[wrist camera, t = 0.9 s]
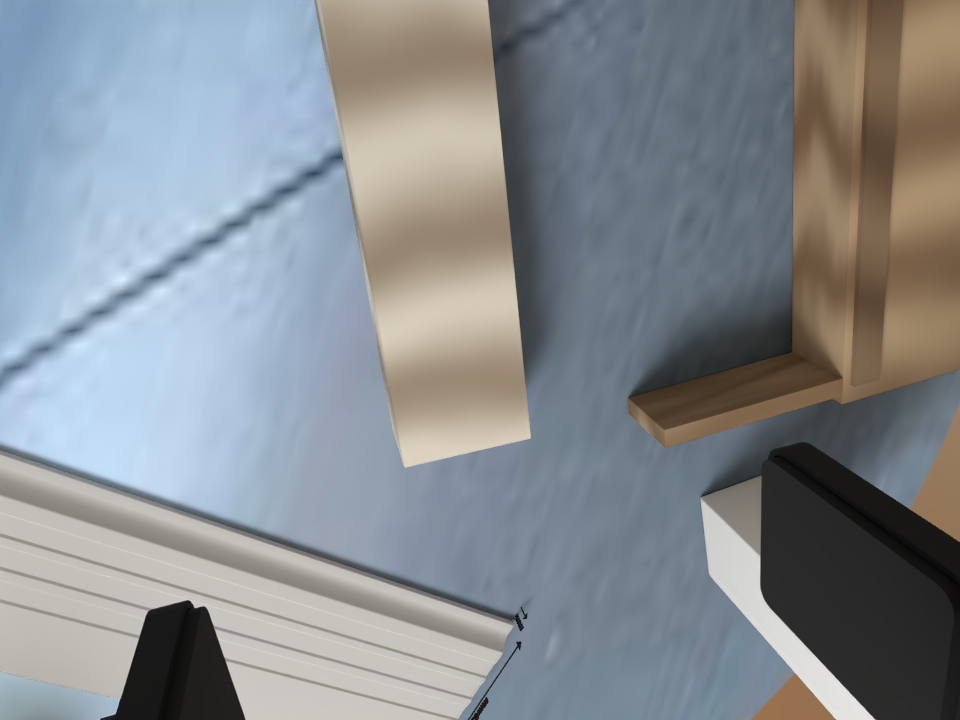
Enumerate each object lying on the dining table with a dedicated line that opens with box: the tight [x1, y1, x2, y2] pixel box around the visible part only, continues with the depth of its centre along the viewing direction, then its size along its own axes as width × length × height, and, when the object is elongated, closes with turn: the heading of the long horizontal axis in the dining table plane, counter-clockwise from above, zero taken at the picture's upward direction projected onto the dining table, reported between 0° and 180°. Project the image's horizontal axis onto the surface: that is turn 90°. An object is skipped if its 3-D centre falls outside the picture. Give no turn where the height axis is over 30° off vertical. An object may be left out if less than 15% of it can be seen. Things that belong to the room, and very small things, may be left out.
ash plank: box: [314, 0, 531, 468], centre depth 30 cm, size 20×6×4 cm, turn 7°
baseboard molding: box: [0, 450, 527, 720], centre depth 35 cm, size 31×3×12 cm
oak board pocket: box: [628, 0, 960, 448], centre depth 33 cm, size 26×18×4 cm
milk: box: [701, 475, 875, 720], centre depth 33 cm, size 6×6×22 cm
